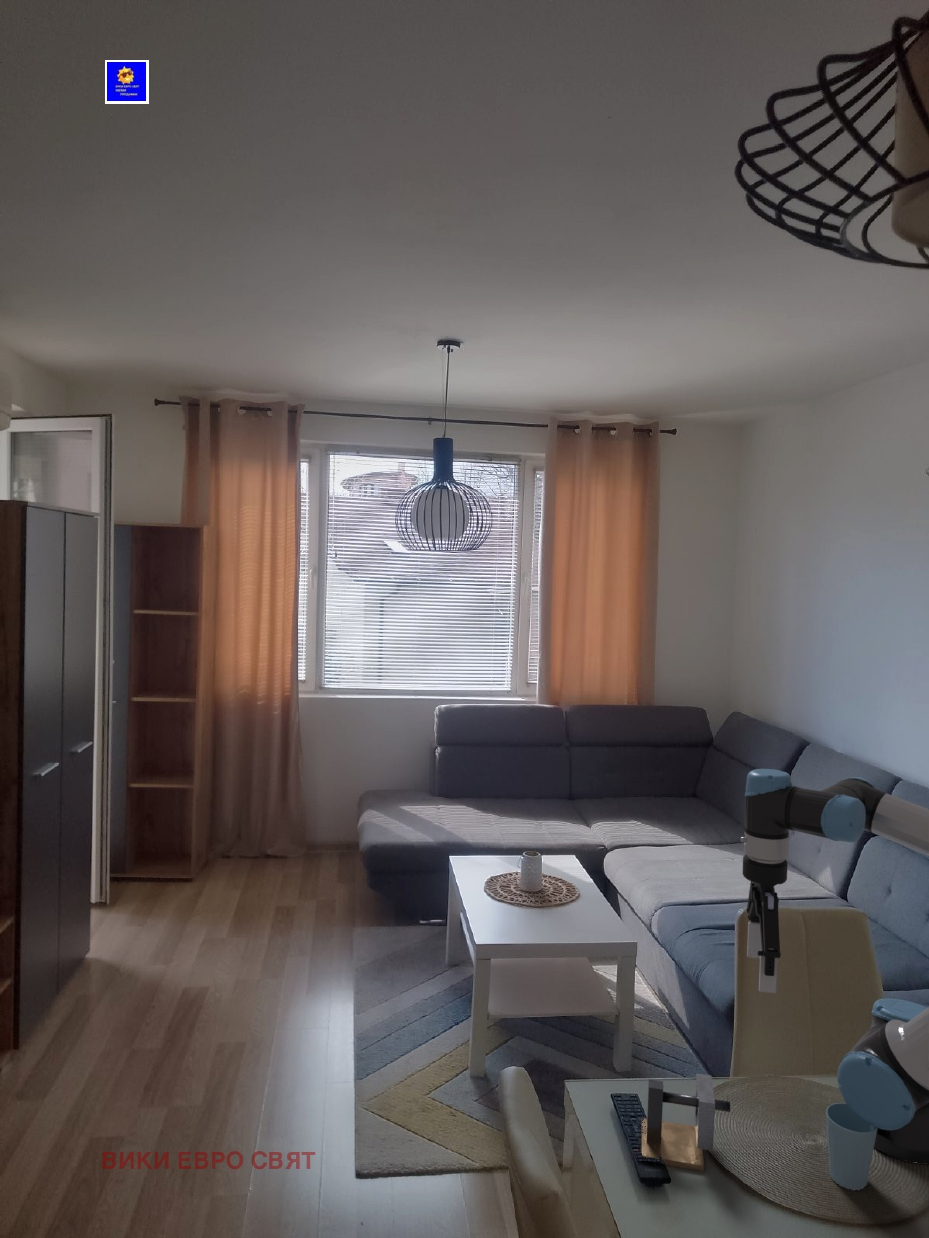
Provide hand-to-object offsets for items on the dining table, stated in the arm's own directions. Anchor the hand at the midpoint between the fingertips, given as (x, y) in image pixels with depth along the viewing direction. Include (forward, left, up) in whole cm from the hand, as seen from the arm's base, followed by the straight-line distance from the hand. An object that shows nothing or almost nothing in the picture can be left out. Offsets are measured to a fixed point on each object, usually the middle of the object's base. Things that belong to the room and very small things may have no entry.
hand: (760, 973), depth 154 cm
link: (+10, +12, -23) cm, 28 cm away
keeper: (+13, +12, -26) cm, 32 cm away
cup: (-13, +13, -27) cm, 33 cm away
